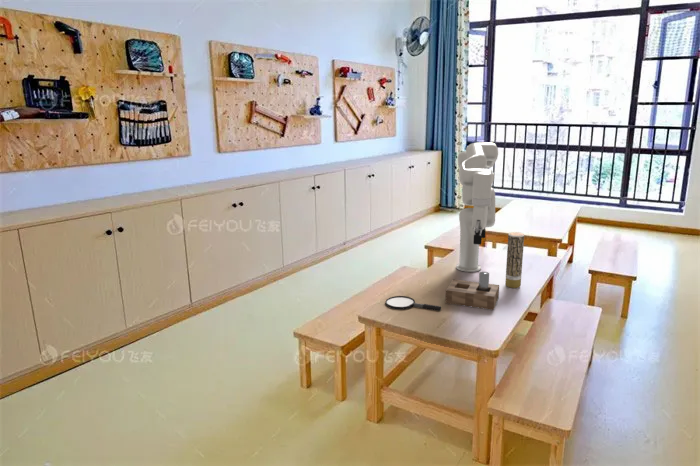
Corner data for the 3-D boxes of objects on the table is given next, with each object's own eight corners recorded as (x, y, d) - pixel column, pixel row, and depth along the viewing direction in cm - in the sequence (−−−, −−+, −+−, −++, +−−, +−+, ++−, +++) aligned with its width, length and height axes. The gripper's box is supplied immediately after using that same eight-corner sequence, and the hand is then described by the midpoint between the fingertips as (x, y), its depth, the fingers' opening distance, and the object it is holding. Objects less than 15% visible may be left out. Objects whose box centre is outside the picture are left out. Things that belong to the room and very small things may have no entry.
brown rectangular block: (452, 291, 220) (453, 279, 218) (498, 297, 211) (499, 285, 210) (445, 303, 207) (445, 289, 206) (493, 310, 199) (494, 296, 198)
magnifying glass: (436, 317, 195) (436, 312, 194) (381, 308, 205) (381, 304, 205) (444, 305, 206) (444, 300, 205) (392, 298, 216) (391, 293, 216)
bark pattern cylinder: (521, 289, 221) (525, 236, 215) (505, 288, 222) (509, 235, 216) (519, 283, 227) (523, 232, 221) (504, 283, 229) (507, 231, 222)
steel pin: (479, 297, 210) (480, 271, 207) (488, 298, 208) (489, 272, 205) (477, 300, 207) (478, 274, 203) (486, 302, 205) (488, 275, 202)
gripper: (475, 196, 211) (474, 234, 216) (468, 205, 196) (466, 245, 201) (493, 197, 208) (491, 236, 213) (487, 206, 193) (485, 247, 198)
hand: (479, 240), depth 207 cm, fingers open, 9 cm apart
